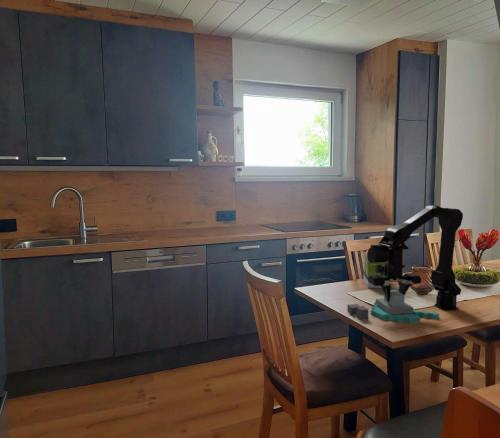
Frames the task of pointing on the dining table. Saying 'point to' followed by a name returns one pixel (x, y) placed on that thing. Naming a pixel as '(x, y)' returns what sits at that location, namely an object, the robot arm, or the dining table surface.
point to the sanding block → (395, 303)
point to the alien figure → (402, 315)
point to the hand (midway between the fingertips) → (393, 301)
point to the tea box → (370, 271)
